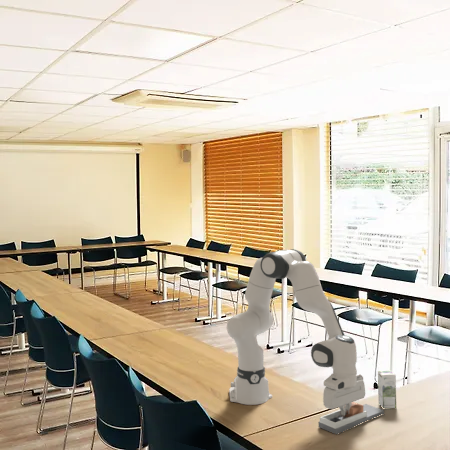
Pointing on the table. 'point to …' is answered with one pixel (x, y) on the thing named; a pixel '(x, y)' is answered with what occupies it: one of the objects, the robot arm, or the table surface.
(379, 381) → the syrup box
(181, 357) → the table surface
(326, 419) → the channel
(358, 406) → the block
